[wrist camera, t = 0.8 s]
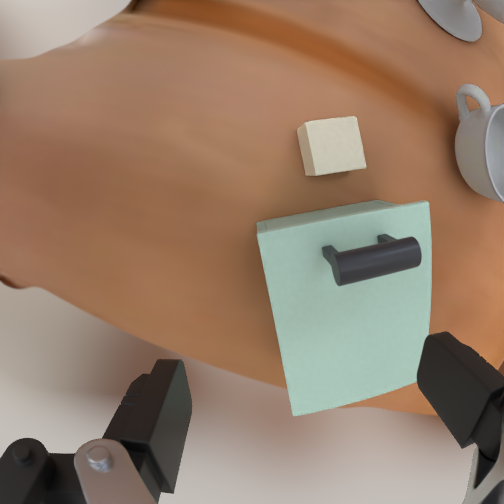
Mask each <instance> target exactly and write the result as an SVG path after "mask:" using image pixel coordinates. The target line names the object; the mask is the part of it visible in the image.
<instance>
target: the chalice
mask: <svg viewBox="0 0 504 504" xmlns="http://www.w3.org/2000/svg"><path fill="white" fill-rule="evenodd" d="M418 1H419V2H420V4H421V5H422V7H423V8H424V9H425V11H426V12H427V13H428V14H429V15H430V16H431V17H432V19H434V20H435V21H436V22H437V23H438V24H439V25H440V26H441V27H442V28H444V29H445V30H446V31H448V32H449V33H451V34H452V35H454V36H455V37H457V38H460V39H462V40H465V41H470V42H471V41H476V40H477V39H479V38H480V36H481V34H482V24H481V19H480V17H479V14H478V12H477V10H476V8H475V6H474V5H473V3H472V2H471V1H473V2H474V3H475V4H477V5H478V6H479V7H480V8H481V9H482V10H484V11H485V12H486V13H487V14H489V15H490V16H491V17H493V18H494V19H496V20H498V21H499V22H501V23H503V24H504V0H418Z"/></svg>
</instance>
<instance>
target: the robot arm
mask: <svg viewBox="0 0 504 504" xmlns="http://www.w3.org/2000/svg"><path fill="white" fill-rule="evenodd" d="M417 384H418V387H419V389H420V390H421V392H422V393H423V394H424V396H425V397H426V398H427V400H428V401H429V403H430V404H431V405H432V407H433V408H434V409H435V411H436V412H437V414H438V415H439V416H440V418H441V419H442V421H443V422H444V423H445V425H446V426H447V427H448V429H449V430H450V432H451V433H452V435H453V436H454V438H455V439H456V440H457V442H458V443H459V445H460V446H461V448H465V447H467V446H469V445H471V444H473V443H476V444H477V447H476V448H475V450H474V453H473V459H472V466H471V472H470V477H469V483H468V488H467V492H466V496H465V499H464V501H463V503H462V504H504V376H503V375H502V374H501V373H499V372H498V371H497V370H496V369H495V368H494V367H493V366H492V365H491V364H490V363H488V362H487V363H486V360H485V359H484V358H483V357H482V356H479V354H478V353H477V352H476V351H475V350H473V349H472V348H471V347H469V346H467V345H465V344H463V343H461V342H459V341H458V340H457V339H456V338H455V337H454V336H452V335H451V334H450V333H449V332H447V331H445V332H441V333H436V334H432V335H428V336H427V337H426V339H425V341H424V345H423V349H422V354H421V358H420V362H419V366H418V370H417ZM191 414H192V399H191V394H190V389H189V385H188V381H187V376H186V371H185V367H184V363H183V361H182V360H174V359H173V360H172V359H171V360H170V359H158V360H157V361H156V364H155V366H154V367H153V369H152V372H151V373H150V374H142V375H141V376H139V377H138V378H137V379H136V380H134V381H133V382H132V383H131V385H130V387H129V389H128V390H127V392H126V396H124V398H123V400H122V401H121V405H119V407H118V409H117V411H116V413H115V414H114V416H113V418H112V420H111V422H110V424H109V426H108V428H107V430H106V432H105V433H104V436H103V437H102V439H95V440H91V441H89V442H87V443H85V444H83V445H82V446H81V447H80V448H79V449H78V450H77V452H76V453H74V454H60V453H58V454H57V453H48V451H47V450H46V448H45V447H44V445H43V444H42V443H41V442H40V441H38V440H36V439H33V438H23V439H19V440H17V441H15V442H13V443H12V444H11V445H9V446H8V448H7V449H6V451H5V452H4V454H3V455H2V457H1V458H0V504H158V501H159V497H160V494H161V492H165V493H174V489H175V484H176V480H177V475H178V471H179V466H180V462H181V458H182V453H183V449H184V444H185V440H186V436H187V431H188V427H189V423H190V418H191Z"/></svg>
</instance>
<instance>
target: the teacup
mask: <svg viewBox="0 0 504 504" xmlns="http://www.w3.org/2000/svg"><path fill="white" fill-rule="evenodd" d="M466 95H468V96H471V97H473V98H474V99H475V100H476V101H477V102H478V103H479V106H480V108H478V109H475V110H473V111H471V112H469V110H468V107H467V104H466V98H465V96H466ZM456 104H457V108H458V111H459V114H458V118H459V121H460V124H459V126H458V129H457V132H456V137H455V155H456V160H457V164H458V167H459V170H460V172H461V175H462V176H463V178H464V180H465V181H466V183H467V184H468V185H469V186H470V187H471V188H472V189H473V190H474V191H475V192H477V193H478V194H480V195H482V196H484V197H487V198H490V199H493V200H496V201H499V202H503V203H504V103H503V104H501V105H496V106H490V102H489V99H488V97H487V95H486V94H485V93H484V91H482V90H481V89H480V88H479V87H477V86H475V85H473V84H463V85H462V86H460V88H459V89H458V91H457V93H456Z"/></svg>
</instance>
